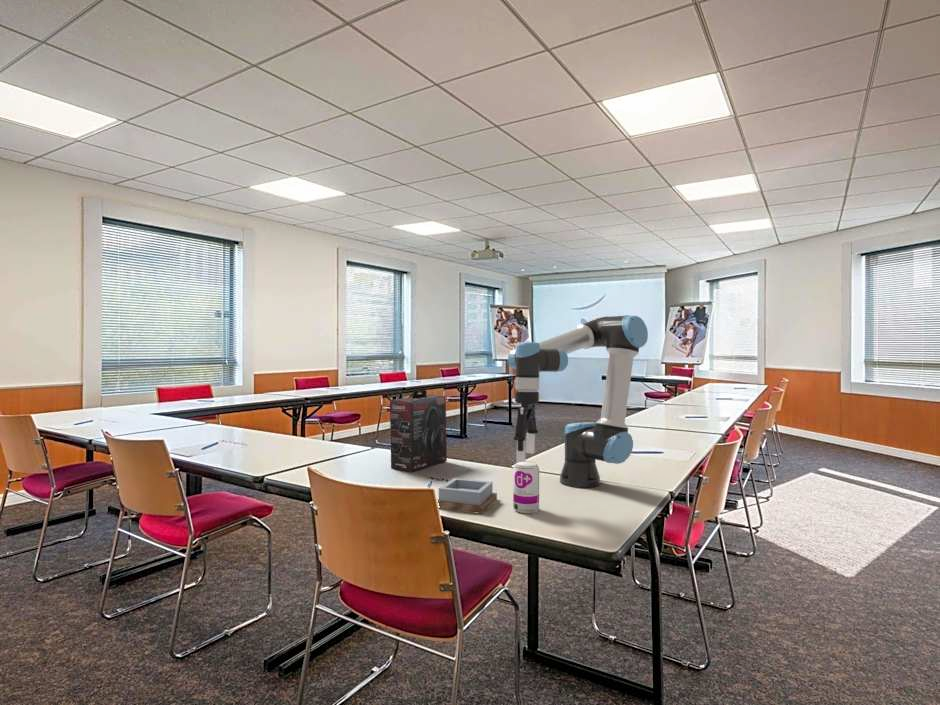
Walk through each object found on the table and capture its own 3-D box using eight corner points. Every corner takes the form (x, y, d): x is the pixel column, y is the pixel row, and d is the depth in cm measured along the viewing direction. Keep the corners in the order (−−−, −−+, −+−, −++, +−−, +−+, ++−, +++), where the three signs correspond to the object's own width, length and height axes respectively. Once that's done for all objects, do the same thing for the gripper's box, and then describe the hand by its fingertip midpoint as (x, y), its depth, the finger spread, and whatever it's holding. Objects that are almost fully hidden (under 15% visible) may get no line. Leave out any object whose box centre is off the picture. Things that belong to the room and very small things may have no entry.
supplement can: (532, 515, 162) (532, 467, 162) (508, 511, 167) (509, 464, 166) (543, 508, 169) (543, 462, 169) (520, 504, 174) (520, 459, 173)
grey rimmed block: (492, 493, 179) (492, 482, 179) (479, 505, 165) (480, 492, 165) (453, 489, 183) (454, 478, 183) (438, 500, 170) (438, 488, 170)
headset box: (411, 472, 216) (411, 392, 215) (388, 468, 223) (388, 390, 222) (447, 462, 236) (447, 388, 235) (425, 458, 243) (426, 387, 242)
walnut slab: (496, 501, 179) (496, 493, 179) (482, 516, 164) (482, 506, 164) (452, 496, 185) (453, 488, 184) (435, 510, 169) (435, 501, 169)
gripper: (524, 387, 180) (523, 449, 180) (505, 393, 157) (504, 463, 157) (546, 388, 178) (544, 451, 178) (530, 394, 154) (528, 466, 154)
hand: (525, 457), depth 167 cm, fingers open, 13 cm apart
